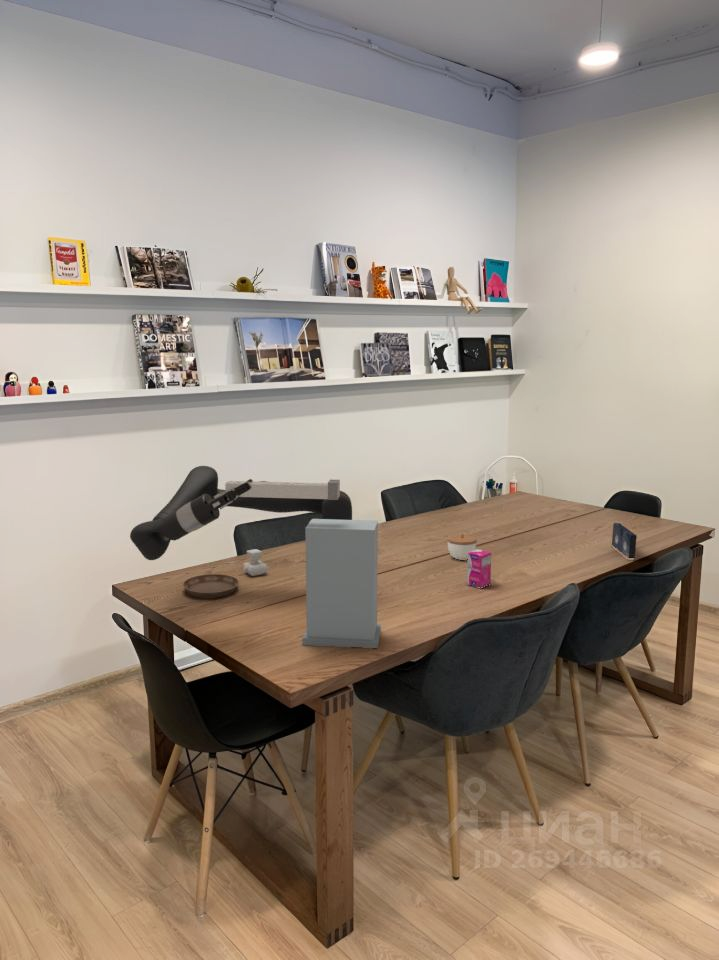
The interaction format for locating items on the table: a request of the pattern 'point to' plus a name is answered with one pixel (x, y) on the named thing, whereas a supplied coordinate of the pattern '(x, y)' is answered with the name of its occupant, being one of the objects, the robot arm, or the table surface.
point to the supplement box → (479, 568)
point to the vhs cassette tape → (624, 540)
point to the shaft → (289, 489)
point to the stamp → (254, 563)
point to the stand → (341, 583)
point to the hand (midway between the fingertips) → (250, 483)
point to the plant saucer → (210, 585)
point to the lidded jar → (461, 545)
